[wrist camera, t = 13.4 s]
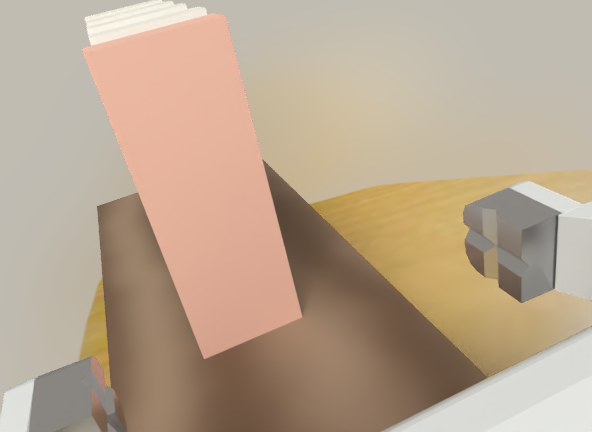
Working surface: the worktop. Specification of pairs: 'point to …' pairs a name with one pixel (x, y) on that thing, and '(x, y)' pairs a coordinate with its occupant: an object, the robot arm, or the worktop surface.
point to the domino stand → (271, 339)
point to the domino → (199, 175)
